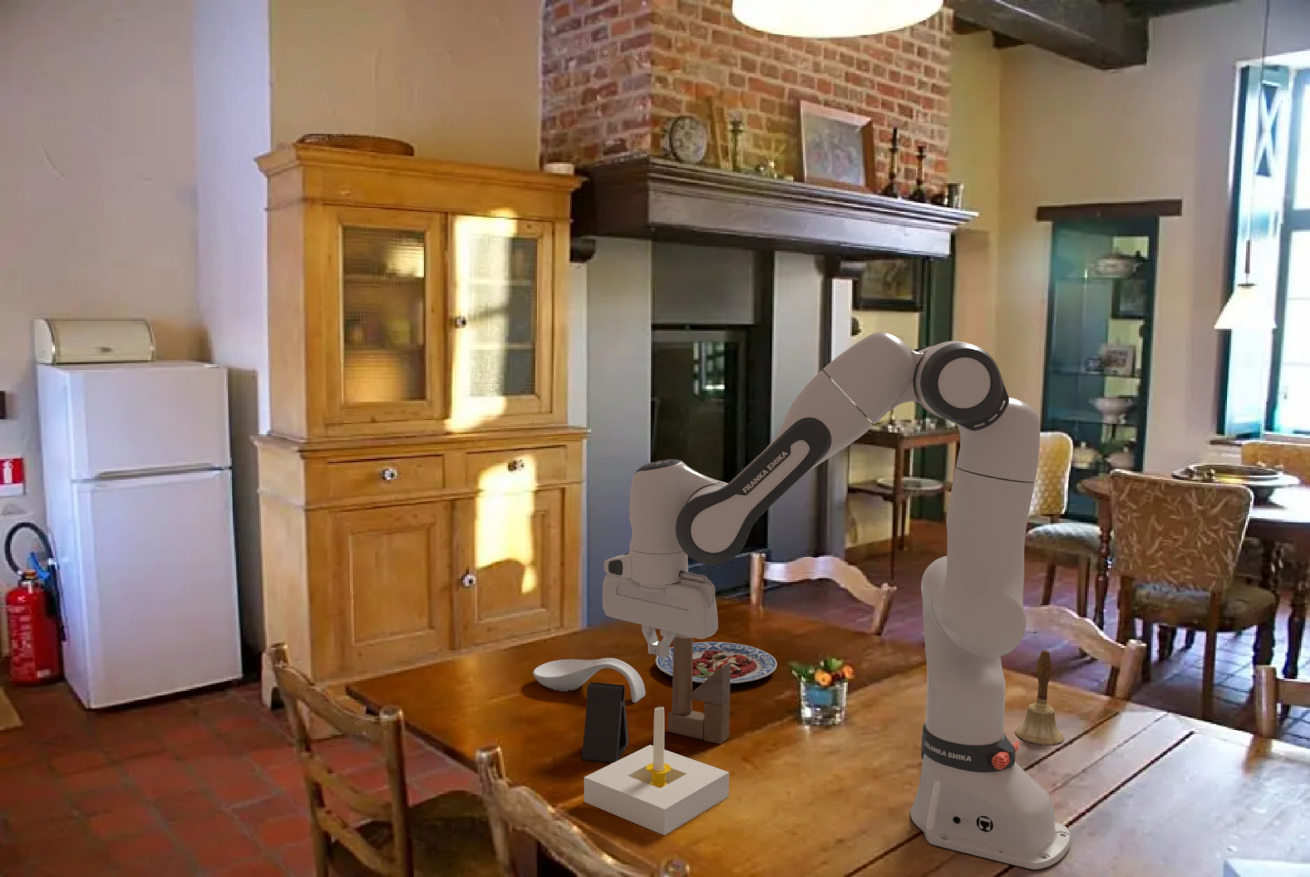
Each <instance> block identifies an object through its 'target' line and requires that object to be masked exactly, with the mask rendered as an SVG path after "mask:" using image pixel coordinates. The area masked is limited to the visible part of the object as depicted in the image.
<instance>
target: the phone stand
mask: <svg viewBox="0 0 1310 877" xmlns="http://www.w3.org/2000/svg"><path fill="white" fill-rule="evenodd" d="M586 689H587V690H586V710H585V720H584V731H583V739H582V741H583V743H582V751H581V761H590V762H597V763H598V762H599V763H608V764H609V763H610V764H612V763H614V762H616V761H618V760H620V758H621V756H622V754H623V753H624V752H625V750H626V748H627V746H628V745H629V742H630V740H629V732H628V718H627V709H626V699H625V698H626V689H625V685H624V684H615V683H614V684H613V683H603V682H592V681H590V682H589V683H588V685H587V688H586Z"/></svg>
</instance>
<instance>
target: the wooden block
mask: <svg viewBox="0 0 1310 877" xmlns="http://www.w3.org/2000/svg"><path fill="white" fill-rule="evenodd" d="M693 643H694V637H690V636H686V635H682V634H678V633H676V635H675V637H674V639H673V641H672V645H673V646H672V647H673V676H672V704H671V705H672V710H671V711H670V712H669V713H668V716H667V728H668V729H667V732H668V733H673V734H677V735H680V736H685V737H689V738H694V739H698V740H703V741H705V742H711V743H714V744H718V745H722V744H723V743H725V742H726V741H727V740H729V737H730V714H731V712H730V710H731V709H730V706H731V701H730V699H731V683H730V670H731V662H728V663H727V664H725V665H724V666H722V667H721V668H720V669H719V670H717V671H716V672H715V673H714V674H713V675H712V676H710V677H709V678H708V679H707V680H706V681H705V682H703V683H700V685H698V686H697V687H696V688H695V689H694V690H693V681H692V675H693ZM693 700H694V701H697V702H698V701H699V702H702V703H703V704H704V705H703V706H704V708H703V710H704V711H703V712H700V711H695V710H693Z"/></svg>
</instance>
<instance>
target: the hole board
mask: <svg viewBox="0 0 1310 877" xmlns="http://www.w3.org/2000/svg"><path fill="white" fill-rule="evenodd" d="M653 746H654V744H653V745H651V744H649V745H647V746H645V747H642V748H641V749H639V750H637V751H634V752H633V753H630V754H629V755H627V756H624V757H622V758H621V759H620V758H619V760H618V761H616V762H614V763H610V764H609V765H606V766H604V767H602V768H600V769H598V770H596V771H594V772H592V773H590V774H588V775H586V776H584V777H583V778H584V779H583V800H584V801H583V802H584V803H586V804H588V805H590V806H593V807H596V808H598V809H601V810H602V811H605V812H606V813H607V812H608V813H610V814H613V815H614V816H617V817H618V818H621V819H625V820H627V821H629V822H631V823H634V824H637V825H638V826H641V827H643V828H646V829H648V830H650V831H653V832H655V833H657V834H660V835H662V836H667V835H669V833H671V832H673V831H675V830H677V829H678V828H680V827H681V826H683V825H684V824H686V823H687V822H690V821H691V820H692V819H695V818H696V817H697V816H699V815H701V814H703V813H704V812H707V810H709V809H710V808H712V807H714V806H715V805H717V804H719V803H720V802H722V801H724V800H726V799H727V798H728V797H729V796H730V794H729V792H730V772H729V771H727V770H723V769H721V768H718V767H715V766H713V765H709V764H706V763H705V762H701V761H698V760H695V759H692V758H689V757H687V756H684V755H681V754H678V753H675V752H672V751H670V750H667V749H664V763H666V764H668V765H670V766H671V770H670V771H669V772H667V773H666V774H665V776H666V780H665V783H667V785H665V786H664V787H662V788H658V787H655V786H653V785H650V783H651V782H652V779H651V777H652V773H651V772H649V771H647V769H646V767H647V765H649V764H651V763H653Z"/></svg>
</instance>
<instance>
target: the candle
mask: <svg viewBox="0 0 1310 877" xmlns="http://www.w3.org/2000/svg"><path fill="white" fill-rule="evenodd" d="M653 711H654V713H653V715H654V716H653V763H651V764H649V765H647V767H646V769H647V771H649V772H651V773H652V777H651V779H652V782H651V783H650V785H653V786H655V787H658V788H662V787H664V786H665V785H667V783H665V780H666V776H665V774H666V773H667V772H669V771H670V770H671V766H670V765H668V764H666V763H664V750H665V707H664V706H660V704H659V705H658V706H657V707H655V708H654V710H653Z"/></svg>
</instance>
